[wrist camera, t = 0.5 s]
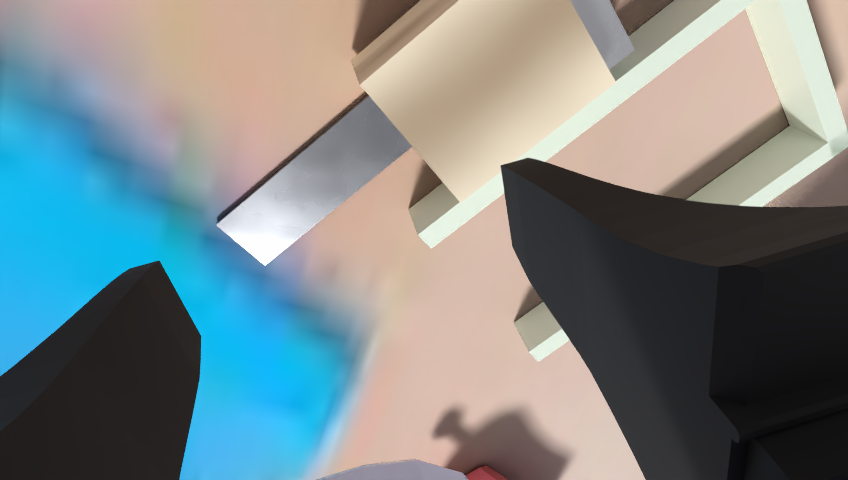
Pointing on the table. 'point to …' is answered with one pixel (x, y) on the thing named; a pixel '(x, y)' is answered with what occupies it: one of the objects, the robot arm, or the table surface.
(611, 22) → the slab rail
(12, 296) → the table surface
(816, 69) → the sage cradle
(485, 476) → the meat
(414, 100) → the maple slab
